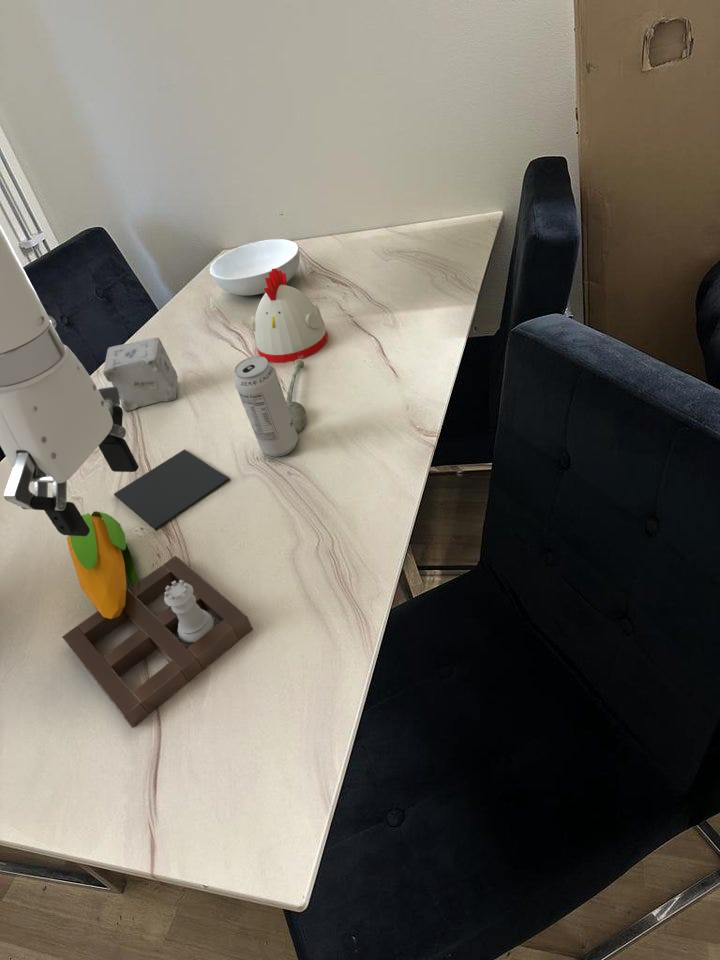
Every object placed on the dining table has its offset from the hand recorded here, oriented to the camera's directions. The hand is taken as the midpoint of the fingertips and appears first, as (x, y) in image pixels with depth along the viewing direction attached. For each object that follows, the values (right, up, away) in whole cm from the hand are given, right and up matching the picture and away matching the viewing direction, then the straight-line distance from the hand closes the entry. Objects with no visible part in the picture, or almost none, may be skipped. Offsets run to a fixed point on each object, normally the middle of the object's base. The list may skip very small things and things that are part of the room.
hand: (102, 500), depth 69 cm
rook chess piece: (+8, -16, +8) cm, 20 cm away
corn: (-5, -11, +17) cm, 21 cm away
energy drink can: (+14, +7, +34) cm, 38 cm away
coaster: (-2, +1, +31) cm, 31 cm away
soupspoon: (+15, +16, +45) cm, 50 cm away
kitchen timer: (+14, +28, +61) cm, 68 cm away
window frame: (+3, -16, +9) cm, 19 cm away
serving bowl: (+4, +47, +87) cm, 99 cm away
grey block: (-12, +17, +54) cm, 58 cm away
